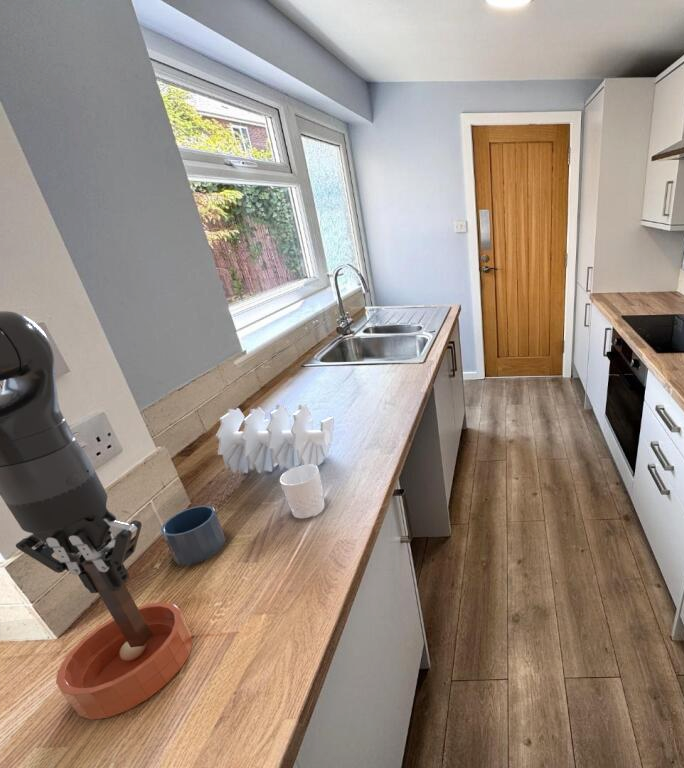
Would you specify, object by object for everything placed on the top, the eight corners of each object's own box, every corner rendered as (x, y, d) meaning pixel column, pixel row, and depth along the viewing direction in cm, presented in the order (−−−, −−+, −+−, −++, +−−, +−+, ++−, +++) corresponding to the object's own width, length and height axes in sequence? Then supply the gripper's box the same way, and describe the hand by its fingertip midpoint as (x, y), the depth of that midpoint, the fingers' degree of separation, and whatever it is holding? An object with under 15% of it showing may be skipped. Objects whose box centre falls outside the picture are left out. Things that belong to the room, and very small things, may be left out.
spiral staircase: (328, 484, 110) (231, 486, 108) (342, 430, 121) (255, 432, 119) (306, 447, 96) (195, 449, 94) (325, 391, 108) (226, 392, 106)
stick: (130, 647, 58) (81, 565, 52) (139, 635, 60) (93, 554, 54) (143, 646, 58) (96, 563, 52) (152, 634, 60) (107, 553, 54)
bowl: (47, 728, 54) (25, 700, 52) (125, 632, 67) (110, 607, 65) (154, 714, 56) (137, 687, 53) (212, 623, 68) (200, 598, 66)
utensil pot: (165, 569, 79) (149, 537, 76) (192, 536, 87) (180, 507, 84) (211, 565, 80) (198, 533, 77) (234, 533, 88) (223, 503, 85)
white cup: (327, 516, 92) (317, 479, 88) (288, 525, 89) (277, 488, 85) (327, 495, 99) (319, 461, 95) (292, 504, 96) (281, 469, 92)
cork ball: (118, 666, 61) (110, 653, 60) (133, 646, 64) (126, 634, 63) (139, 664, 62) (132, 650, 60) (153, 644, 64) (146, 632, 63)
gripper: (135, 459, 52) (182, 560, 59) (19, 468, 51) (80, 569, 58) (85, 496, 45) (144, 605, 52) (-51, 508, 44) (28, 617, 51)
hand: (110, 586), depth 55 cm, fingers closed on stick, 2 cm apart
